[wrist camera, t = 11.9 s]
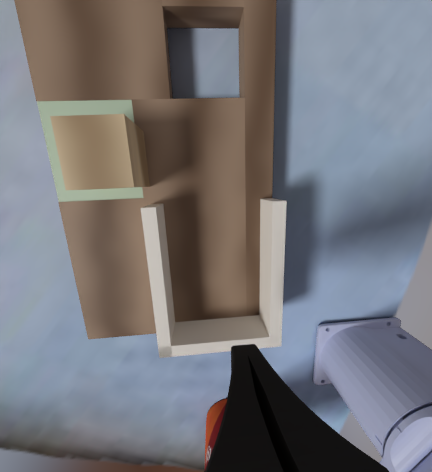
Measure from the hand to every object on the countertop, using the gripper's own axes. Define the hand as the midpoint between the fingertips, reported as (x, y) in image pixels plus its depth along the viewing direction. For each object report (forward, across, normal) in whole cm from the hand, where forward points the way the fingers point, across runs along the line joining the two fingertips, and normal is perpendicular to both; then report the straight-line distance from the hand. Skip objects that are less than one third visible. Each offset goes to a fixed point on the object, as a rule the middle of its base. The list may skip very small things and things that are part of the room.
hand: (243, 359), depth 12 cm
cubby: (+8, +1, -2) cm, 8 cm away
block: (+8, +8, -12) cm, 16 cm away
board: (+10, +5, -9) cm, 14 cm away
